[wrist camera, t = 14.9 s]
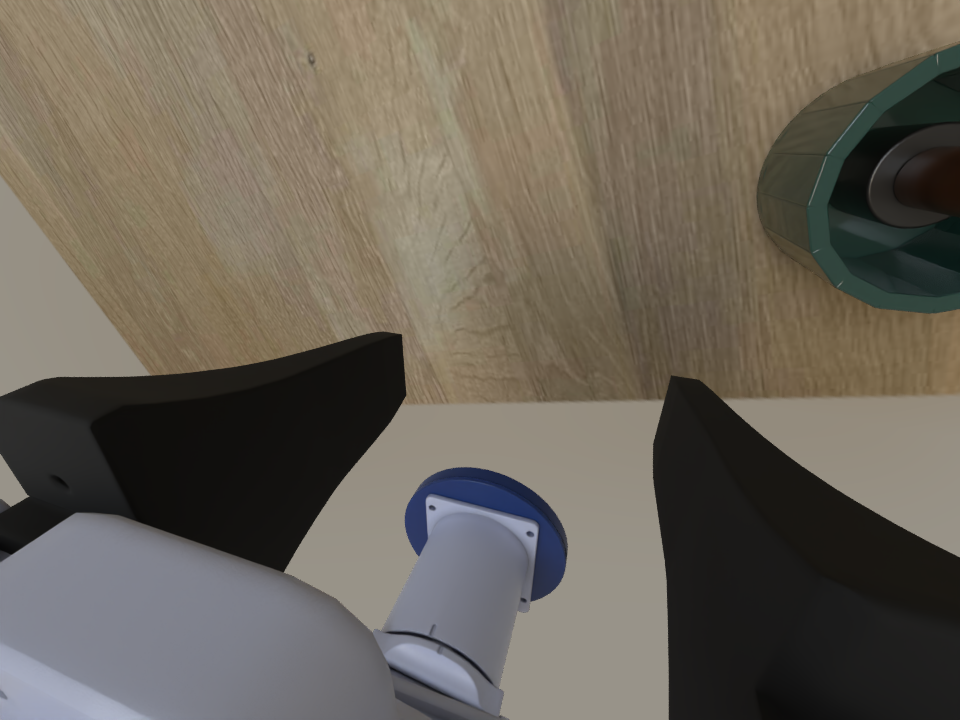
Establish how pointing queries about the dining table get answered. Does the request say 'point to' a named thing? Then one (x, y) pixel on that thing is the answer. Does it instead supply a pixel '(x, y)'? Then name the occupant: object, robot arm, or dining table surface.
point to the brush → (903, 176)
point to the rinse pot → (847, 238)
